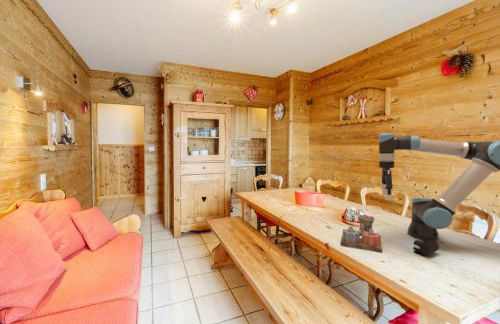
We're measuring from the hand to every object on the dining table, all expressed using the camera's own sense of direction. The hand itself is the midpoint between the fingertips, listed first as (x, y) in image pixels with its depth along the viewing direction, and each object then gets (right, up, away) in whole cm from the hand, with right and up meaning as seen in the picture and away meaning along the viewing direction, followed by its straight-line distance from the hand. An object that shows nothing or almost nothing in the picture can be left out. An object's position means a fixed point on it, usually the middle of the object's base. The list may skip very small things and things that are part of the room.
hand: (386, 197), depth 134 cm
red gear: (-13, -24, -7) cm, 28 cm away
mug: (-7, -24, +12) cm, 28 cm away
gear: (-22, -23, -3) cm, 32 cm away
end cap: (+11, -26, -15) cm, 32 cm away
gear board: (-18, -26, -5) cm, 31 cm away
